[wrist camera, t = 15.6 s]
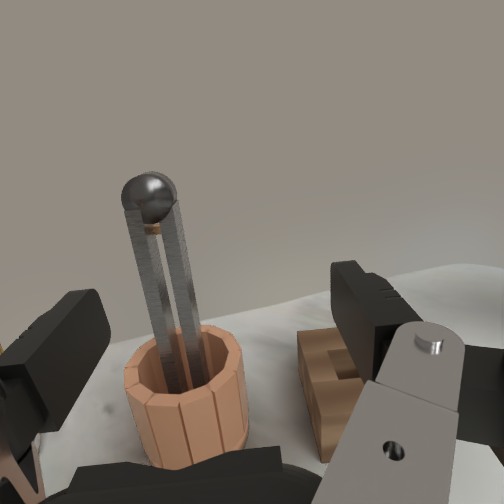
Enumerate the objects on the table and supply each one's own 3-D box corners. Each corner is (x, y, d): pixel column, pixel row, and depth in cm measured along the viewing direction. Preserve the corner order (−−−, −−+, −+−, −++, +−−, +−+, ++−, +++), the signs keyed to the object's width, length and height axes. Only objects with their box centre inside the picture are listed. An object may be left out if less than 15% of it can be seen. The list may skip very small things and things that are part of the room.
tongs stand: (436, 451, 24) (445, 403, 22) (321, 463, 24) (321, 416, 22) (381, 361, 34) (385, 322, 32) (298, 370, 34) (296, 331, 32)
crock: (230, 378, 33) (221, 314, 30) (265, 452, 25) (257, 376, 22) (143, 410, 30) (123, 344, 27) (152, 505, 23) (126, 426, 20)
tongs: (213, 427, 26) (166, 173, 19) (177, 431, 26) (116, 178, 19) (215, 402, 29) (174, 168, 21) (182, 405, 29) (129, 172, 21)
